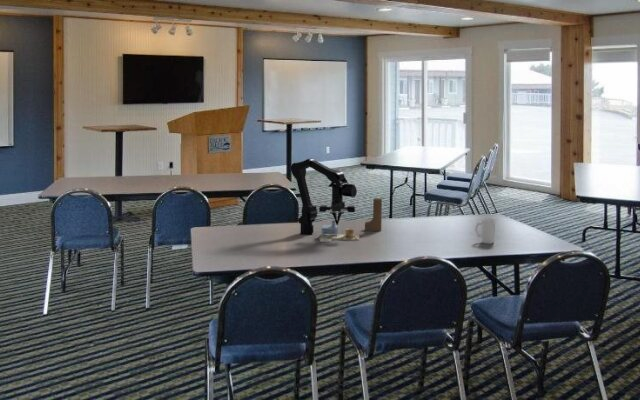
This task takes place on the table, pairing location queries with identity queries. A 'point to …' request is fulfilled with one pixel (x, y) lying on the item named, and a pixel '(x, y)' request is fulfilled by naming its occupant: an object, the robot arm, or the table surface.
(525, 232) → the table surface
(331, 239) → the mat
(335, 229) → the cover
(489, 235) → the mug
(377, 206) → the wooden block
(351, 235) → the block
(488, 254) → the table surface
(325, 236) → the board
